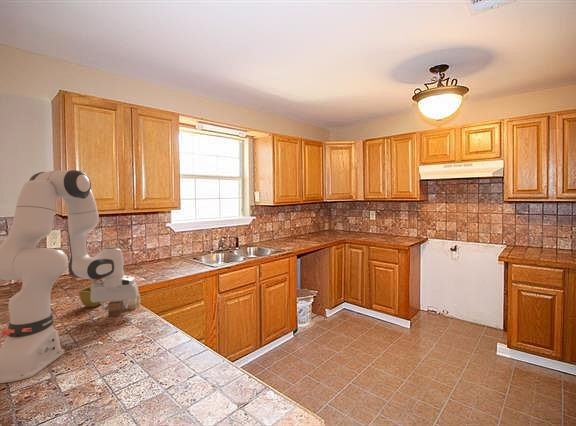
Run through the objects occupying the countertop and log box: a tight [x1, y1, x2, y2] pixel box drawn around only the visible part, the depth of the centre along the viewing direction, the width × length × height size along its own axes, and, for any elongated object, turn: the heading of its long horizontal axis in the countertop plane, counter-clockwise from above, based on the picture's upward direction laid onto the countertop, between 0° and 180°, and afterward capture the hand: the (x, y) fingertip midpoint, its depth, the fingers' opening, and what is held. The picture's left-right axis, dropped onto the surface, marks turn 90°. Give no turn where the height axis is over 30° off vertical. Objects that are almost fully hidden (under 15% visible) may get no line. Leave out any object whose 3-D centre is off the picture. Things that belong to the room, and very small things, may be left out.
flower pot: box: [78, 286, 101, 308], centre depth 157 cm, size 9×9×9 cm
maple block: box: [123, 293, 141, 310], centre depth 155 cm, size 7×7×5 cm
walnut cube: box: [107, 300, 125, 317], centre depth 146 cm, size 5×5×6 cm
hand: (115, 309), depth 146 cm, fingers open, 7 cm apart
